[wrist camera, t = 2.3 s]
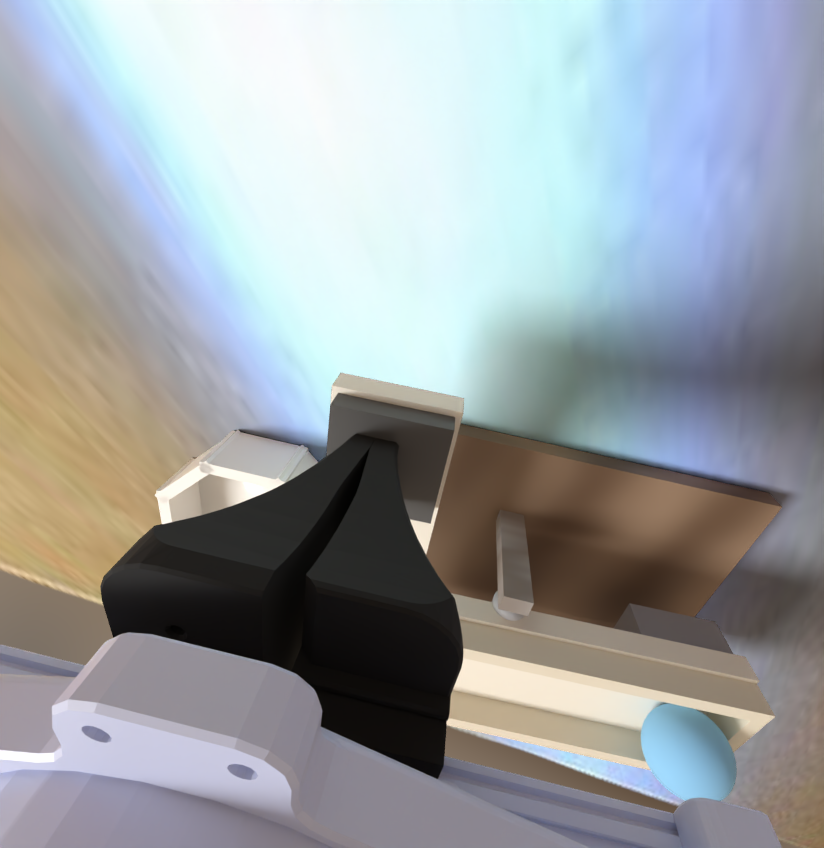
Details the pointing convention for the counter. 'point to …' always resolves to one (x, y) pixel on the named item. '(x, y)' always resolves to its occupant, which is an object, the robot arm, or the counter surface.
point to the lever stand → (585, 530)
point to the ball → (688, 753)
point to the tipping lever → (550, 621)
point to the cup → (230, 475)
